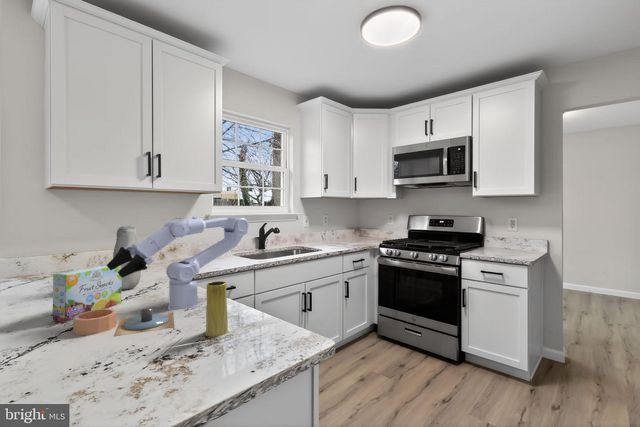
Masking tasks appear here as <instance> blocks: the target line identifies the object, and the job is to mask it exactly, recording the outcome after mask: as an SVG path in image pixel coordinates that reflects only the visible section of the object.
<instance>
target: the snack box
mask: <svg viewBox="0 0 640 427" xmlns="http://www.w3.org/2000/svg"><path fill="white" fill-rule="evenodd" d="M107 264H108V263H107ZM107 264H102V265H96V266H95V265H94V266H91V267H85V268H79V269H73V270H68V271H63V272H57V273H53V274H52V321H53V322H60V323H67V322H70V321H73V318H74V317H75V316H76V315H78V314H81V313H83V312H87V311H92V310H98V309H110V308H111V307H114V306H117V305H120V304H122V289H121V288H122V277H121V276H120V275H119V274H118V272H119V271H120V270H121V269H122V265H120V266H118V267H117V268H115V269H113V270H110V269H109V268H108V267H107Z"/></svg>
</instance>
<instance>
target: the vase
mask: <svg viewBox="0 0 640 427" xmlns="http://www.w3.org/2000/svg"><path fill="white" fill-rule="evenodd" d="M205 311H206V313H205V317H206V318H205V323H206V324H205V326H206V327H205V334H204V335H205V336H207V337H212V338H213V337H222V336H224V335H226V334H227V333H228V332H229V329H228V327H229V326H228V300H227V282H226V281H220V280H219V281H211V282H207V283H206V310H205Z"/></svg>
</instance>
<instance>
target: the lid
mask: <svg viewBox="0 0 640 427" xmlns="http://www.w3.org/2000/svg"><path fill="white" fill-rule="evenodd" d="M130 318H131V319H129V320H127V321H125V322H124V324H123V327H124V329H127V330H147V329H152V328H156V327H159V326H162V325H164V324H166V323H167V322H168V321H169V317H168V316H167V315H164V313H153V307H149V306H147V307H143V308H140V315H138V316H134V318H133V317H130Z"/></svg>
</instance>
